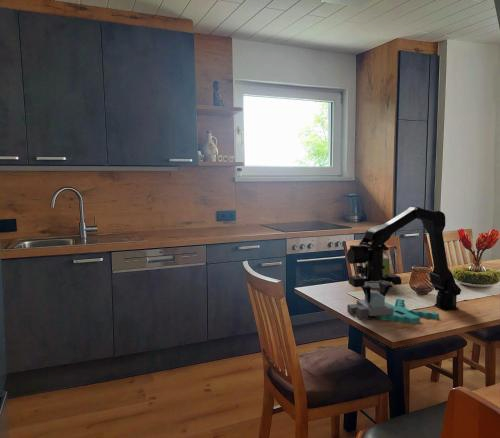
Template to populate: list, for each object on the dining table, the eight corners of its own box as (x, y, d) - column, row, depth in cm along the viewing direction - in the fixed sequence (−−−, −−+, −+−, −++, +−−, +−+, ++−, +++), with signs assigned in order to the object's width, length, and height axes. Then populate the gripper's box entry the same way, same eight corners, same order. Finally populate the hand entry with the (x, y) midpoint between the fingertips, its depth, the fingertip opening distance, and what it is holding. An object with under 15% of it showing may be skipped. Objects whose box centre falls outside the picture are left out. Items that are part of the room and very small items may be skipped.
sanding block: (378, 303, 156) (378, 288, 155) (393, 314, 144) (393, 298, 144) (356, 304, 155) (356, 290, 154) (370, 315, 143) (370, 300, 142)
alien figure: (400, 303, 164) (360, 310, 157) (400, 298, 164) (360, 304, 157) (438, 319, 145) (395, 327, 138) (438, 313, 145) (395, 321, 138)
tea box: (362, 279, 201) (363, 251, 199) (383, 280, 199) (383, 251, 198) (367, 288, 186) (367, 257, 184) (389, 288, 184) (390, 257, 183)
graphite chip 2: (363, 305, 148) (356, 306, 148) (368, 309, 144) (360, 309, 144) (363, 315, 149) (355, 316, 148) (368, 319, 145) (360, 320, 144)
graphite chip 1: (357, 311, 154) (357, 304, 154) (361, 314, 150) (361, 307, 150) (347, 312, 154) (347, 304, 154) (351, 315, 150) (351, 307, 150)
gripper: (388, 256, 157) (387, 294, 158) (343, 258, 154) (343, 297, 156) (402, 262, 146) (401, 303, 147) (354, 265, 143) (354, 306, 145)
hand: (374, 302), depth 149 cm, fingers closed on sanding block, 4 cm apart
